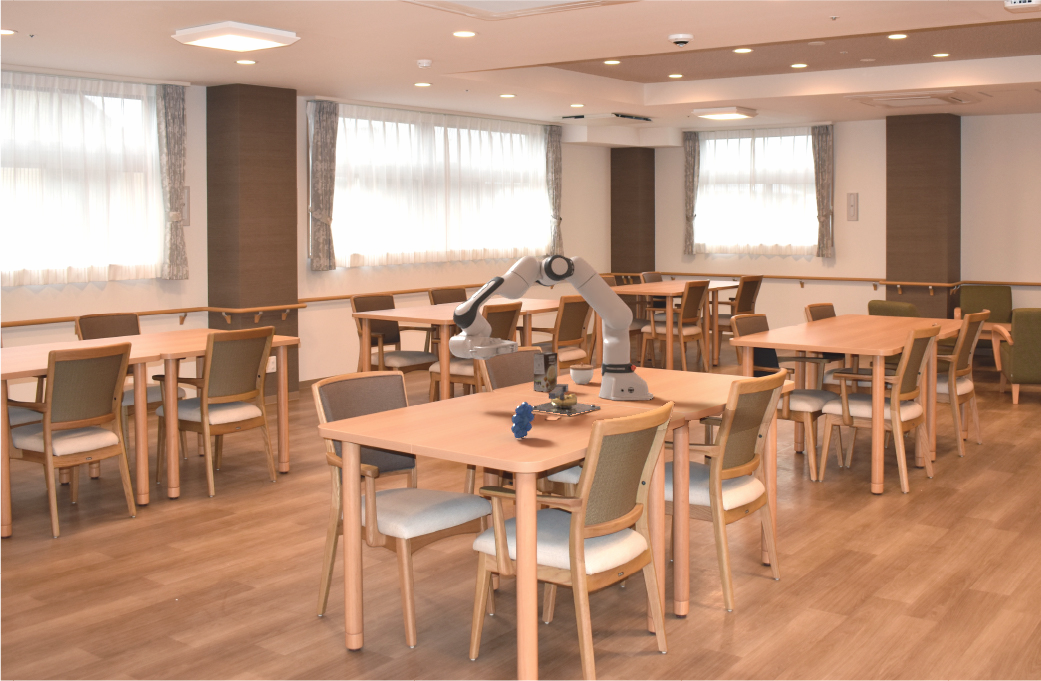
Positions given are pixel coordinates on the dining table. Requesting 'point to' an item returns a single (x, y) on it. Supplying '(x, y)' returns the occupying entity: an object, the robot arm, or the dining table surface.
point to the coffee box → (545, 371)
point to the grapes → (522, 420)
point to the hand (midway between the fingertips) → (512, 350)
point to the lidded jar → (581, 373)
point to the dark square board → (565, 408)
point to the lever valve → (562, 396)
